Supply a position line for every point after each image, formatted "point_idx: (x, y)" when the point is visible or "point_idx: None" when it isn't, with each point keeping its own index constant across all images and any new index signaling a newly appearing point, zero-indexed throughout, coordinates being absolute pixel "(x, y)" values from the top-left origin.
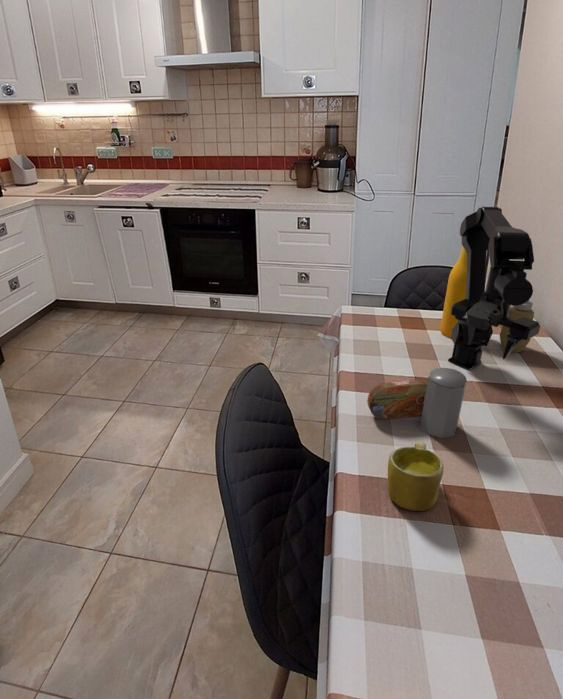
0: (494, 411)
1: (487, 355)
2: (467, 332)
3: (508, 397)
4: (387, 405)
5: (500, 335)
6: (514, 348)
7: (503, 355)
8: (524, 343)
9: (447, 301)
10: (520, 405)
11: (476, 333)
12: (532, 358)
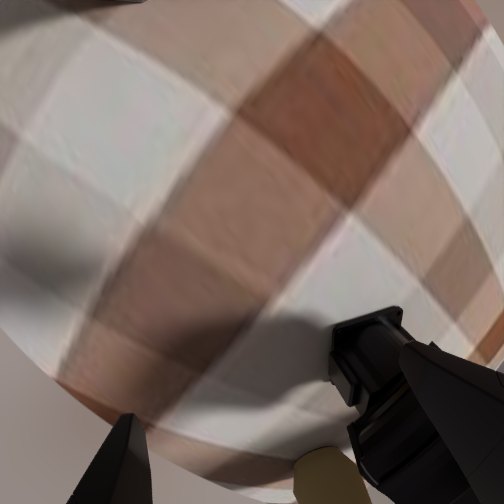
0: (89, 203)
1: (338, 410)
2: (484, 386)
3: (139, 319)
4: None
5: (352, 464)
6: (305, 463)
7: (126, 432)
8: (295, 484)
9: None
10: (87, 314)
11: (409, 433)
12: (261, 468)
